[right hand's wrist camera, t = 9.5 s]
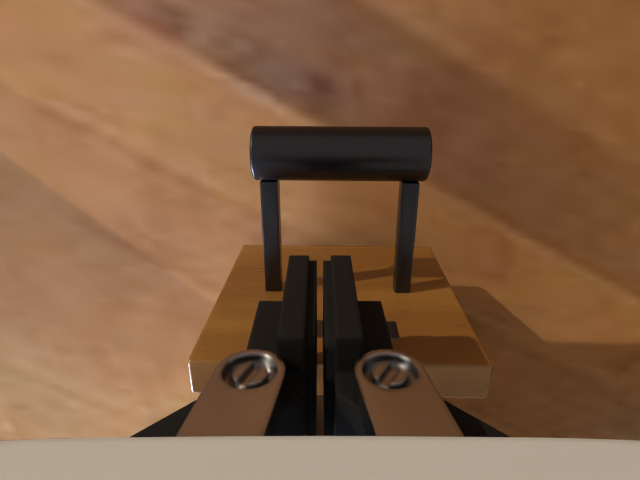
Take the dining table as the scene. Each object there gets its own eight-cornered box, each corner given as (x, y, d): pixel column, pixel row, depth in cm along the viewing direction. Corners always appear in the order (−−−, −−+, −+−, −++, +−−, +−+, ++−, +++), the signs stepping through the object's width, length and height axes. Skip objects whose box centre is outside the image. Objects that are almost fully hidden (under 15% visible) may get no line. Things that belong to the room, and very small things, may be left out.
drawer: (234, 112, 19) (159, 151, 11) (443, 113, 19) (531, 153, 10) (260, 500, 27) (229, 688, 19) (404, 504, 27) (435, 695, 19)
